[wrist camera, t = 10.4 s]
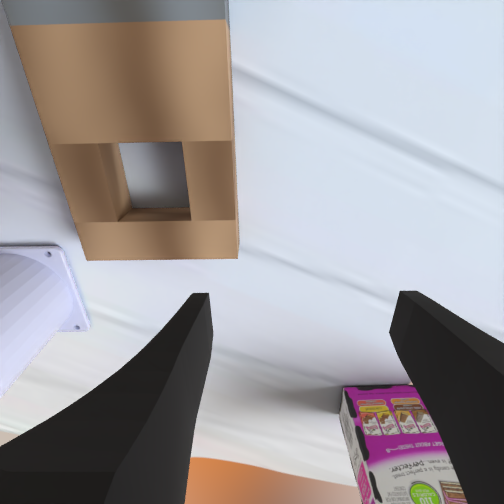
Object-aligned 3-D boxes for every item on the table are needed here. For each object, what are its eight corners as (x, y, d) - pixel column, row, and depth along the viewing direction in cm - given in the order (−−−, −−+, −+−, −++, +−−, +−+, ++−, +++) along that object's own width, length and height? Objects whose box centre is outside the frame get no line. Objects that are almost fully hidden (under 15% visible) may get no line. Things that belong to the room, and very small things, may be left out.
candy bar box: (337, 416, 31) (408, 697, 17) (341, 384, 29) (428, 679, 14) (445, 414, 31) (616, 699, 16) (458, 381, 28) (671, 681, 14)
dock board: (104, 243, 22) (86, 260, 19) (-44, -268, 11) (-116, -356, 9) (239, 241, 21) (237, 258, 19) (215, -281, 11) (205, -374, 9)
